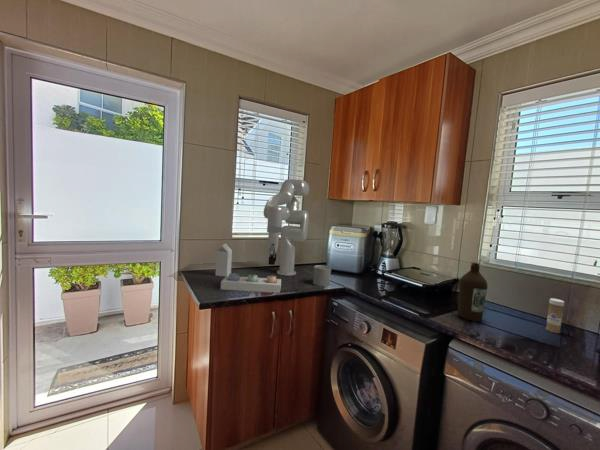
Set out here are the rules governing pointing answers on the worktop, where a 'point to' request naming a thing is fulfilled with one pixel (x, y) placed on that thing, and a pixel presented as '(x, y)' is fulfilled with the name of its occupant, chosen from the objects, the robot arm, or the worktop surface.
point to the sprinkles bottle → (555, 315)
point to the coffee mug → (321, 275)
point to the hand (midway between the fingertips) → (272, 262)
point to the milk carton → (223, 261)
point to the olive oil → (472, 294)
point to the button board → (251, 285)
